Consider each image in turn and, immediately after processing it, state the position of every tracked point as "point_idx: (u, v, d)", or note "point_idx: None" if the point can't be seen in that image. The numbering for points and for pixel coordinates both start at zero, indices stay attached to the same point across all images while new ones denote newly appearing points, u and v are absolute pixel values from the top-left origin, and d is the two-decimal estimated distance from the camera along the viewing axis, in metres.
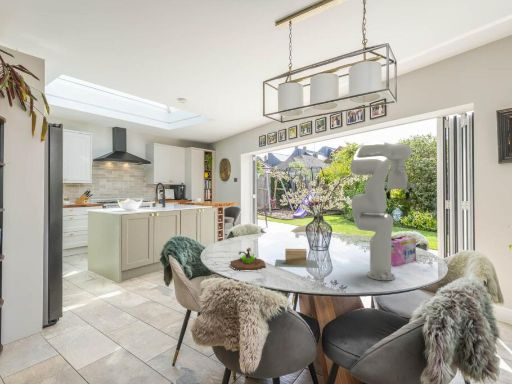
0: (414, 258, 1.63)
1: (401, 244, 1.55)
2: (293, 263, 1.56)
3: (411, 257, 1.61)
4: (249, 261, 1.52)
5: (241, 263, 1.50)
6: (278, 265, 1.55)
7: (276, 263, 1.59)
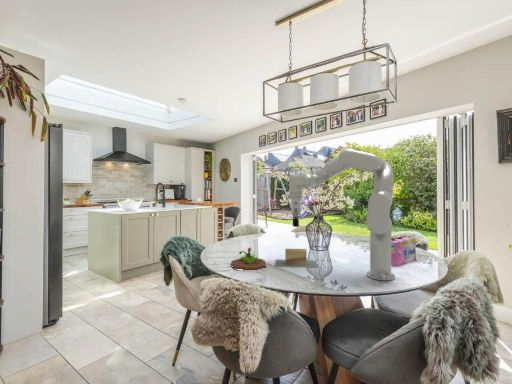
0: (414, 258, 1.63)
1: (401, 244, 1.54)
2: (293, 263, 1.56)
3: (411, 257, 1.61)
4: (249, 261, 1.53)
5: (241, 263, 1.51)
6: (278, 265, 1.55)
7: (276, 263, 1.59)
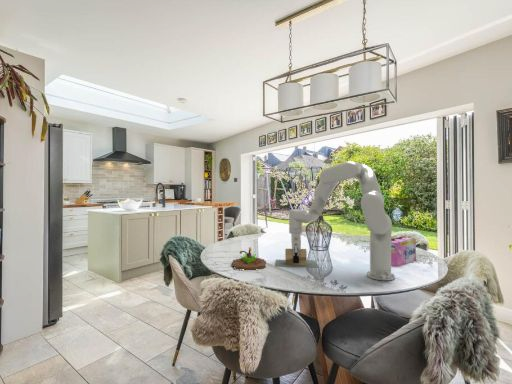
0: (414, 258, 1.63)
1: (401, 244, 1.54)
2: (293, 263, 1.56)
3: (411, 257, 1.61)
4: (249, 261, 1.53)
5: (241, 262, 1.51)
6: (278, 265, 1.55)
7: (276, 263, 1.59)
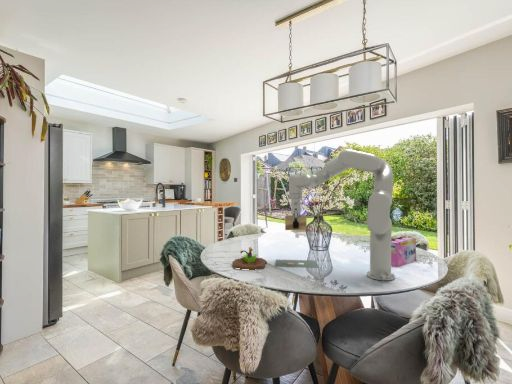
0: (414, 258, 1.62)
1: (402, 244, 1.54)
2: (293, 229, 1.56)
3: (412, 257, 1.60)
4: (249, 260, 1.53)
5: (240, 262, 1.52)
6: (278, 265, 1.55)
7: (276, 263, 1.59)
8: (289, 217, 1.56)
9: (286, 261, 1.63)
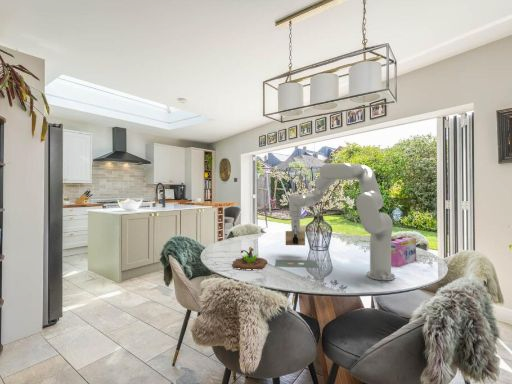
0: (414, 258, 1.62)
1: (402, 244, 1.54)
2: (293, 244, 1.70)
3: (412, 257, 1.60)
4: (249, 260, 1.54)
5: (240, 261, 1.53)
6: (278, 265, 1.55)
7: (276, 263, 1.59)
8: (289, 233, 1.70)
9: (286, 261, 1.63)
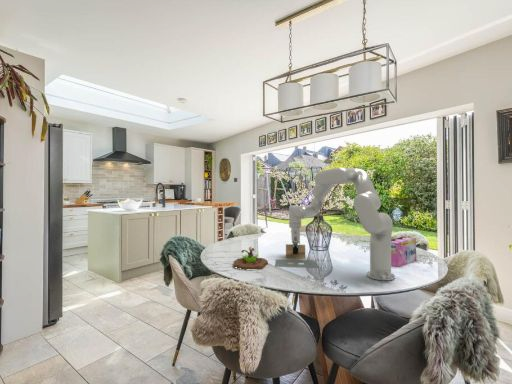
0: (415, 258, 1.62)
1: (402, 244, 1.53)
2: (293, 257, 1.70)
3: (412, 257, 1.60)
4: (249, 260, 1.54)
5: (240, 261, 1.54)
6: (278, 265, 1.55)
7: (276, 263, 1.59)
8: (289, 247, 1.70)
9: (286, 261, 1.63)
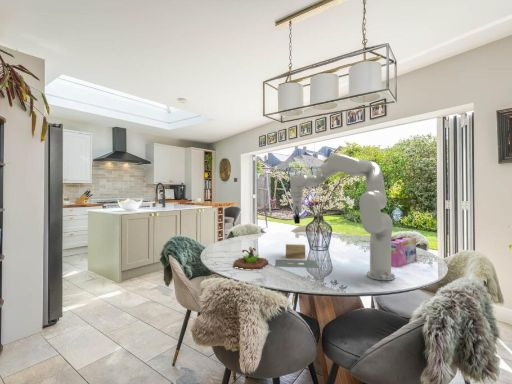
0: (415, 258, 1.62)
1: (402, 244, 1.53)
2: (293, 257, 1.70)
3: (412, 257, 1.60)
4: (249, 260, 1.54)
5: (240, 261, 1.54)
6: (278, 265, 1.55)
7: (276, 263, 1.59)
8: (289, 247, 1.70)
9: (286, 261, 1.63)
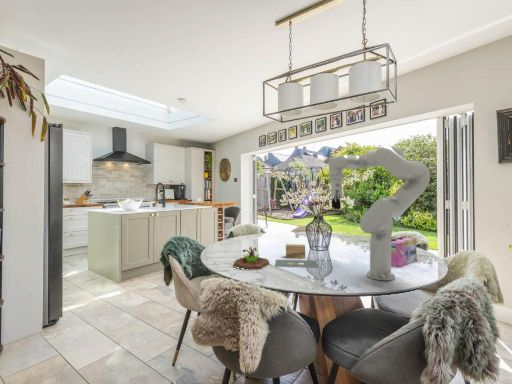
0: (415, 259, 1.62)
1: (403, 244, 1.53)
2: (293, 257, 1.70)
3: (412, 257, 1.60)
4: (249, 260, 1.54)
5: (240, 260, 1.55)
6: (278, 265, 1.55)
7: (276, 263, 1.59)
8: (289, 247, 1.70)
9: (286, 261, 1.63)
